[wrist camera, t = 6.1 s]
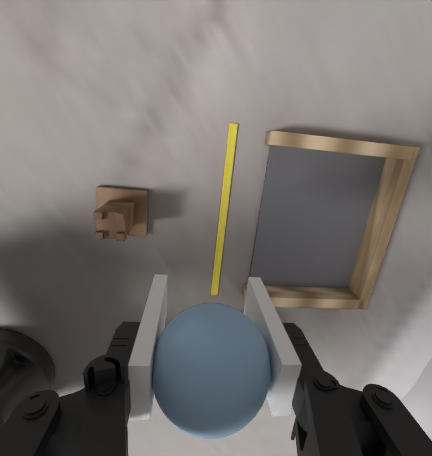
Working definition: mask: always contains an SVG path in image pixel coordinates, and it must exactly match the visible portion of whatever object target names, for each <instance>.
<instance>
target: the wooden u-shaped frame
mask: <svg viewBox="0 0 432 456" xmlns="http://www.w3.org/2000/svg"><path fill="white" fill-rule="evenodd" d="M265 145H275V146H284V147H293V148H302V149H311V150H320V151H329V152H338V153H347V154H356V155H366V156H375V157H384V158H386V160H385V164H384V167H383V171H382V174H381V177H380V181H379V184H378V188H377V191H376V194H375V198H374V201H373V204H372V208H371V211H370V215H369V218H368V221H367V225H366V228H365V231H364V235H363V238H362V242H361V245H360V248H359V252H358V255H357V259H356V262H355V265H354V269H353V272H352V275H351V279H350V282H349V286H348V289H343V288H314V287H284V286H265V288H266V290H267V292H268V295H269V297H270V299H271V301H272V303H273V305H274V307H299V308H343V309H367V306H368V303H369V300H370V297H371V294H372V291H373V288H374V285H375V282H376V279H377V276H378V273H379V270H380V267H381V264H382V261H383V258H384V255H385V252H386V249H387V246H388V243H389V240H390V237H391V234H392V231H393V228H394V224H395V221H396V218H397V215H398V212H399V209H400V206H401V203H402V200H403V197H404V194H405V191H406V188H407V185H408V182H409V179H410V176H411V173H412V170H413V167H414V164H415V161H416V158H417V155H418V152H419V149H420V148H417V147H409V146H400V145H392V144H383V143H375V142H366V141H358V140H349V139H341V138H332V137H324V136H315V135H307V134H298V133H290V132H281V131H270V132H266V138H265ZM246 291H247V284H243V289H242V294H243V297H244V299H245V298H246Z"/></svg>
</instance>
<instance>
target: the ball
mask: <svg viewBox="0 0 432 456" xmlns="http://www.w3.org/2000/svg"><path fill="white" fill-rule="evenodd" d="M270 375H271V366H270V357H269V352H268V349H267V345H266V343H265V340H264V338H263V336H262V334H261V333H260V331H259V329H258V328H257V326H256V325H255V324H254V323H253V322H252V321H251V320H250V319H249V318H248V317H247V316H246V315H245V314H243V313H242V312H240V311H239V310H237V309H235V308H233V307H231V306H228V305H224V304H219V303H204V304H199V305H195V306H193V307H190V308H188V309H186V310H184V311H182V312H181V313H179V314H178V315H177V316H176V317H174V318H173V319H172V320H171V321H170V322H169V323H168V325H167V326H166V327H165V329H164V330H163V332H162V333H161V335H160V337H159V339H158V341H157V343H156V347H155V352H154V359H153V370H152V386H153V390H154V394H155V397H156V399H157V402H158V404H159V406H160V408H161V410H162V411H163V413H164V414H165V416H166V417H167V418H168V419H169V420H170V421H171V422H172V423H173V424H174V425H175V426H176V427H177V428H179V429H180V430H182V431H184V432H185V433H187V434H189V435H192V436H195V437H199V438H205V439H217V438H222V437H226V436H229V435H231V434H233V433H236V432H237V431H239V430H241V429H242V428H244V427H245V426H246V425H247V424H248V423H249V422H250V421H251V420H252V419H253V418H254V417H255V416H256V414H257V413H258V411H259V410H260V408H261V407H262V405H263V403H264V400H265V398H266V395H267V392H268V388H269V384H270Z"/></svg>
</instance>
